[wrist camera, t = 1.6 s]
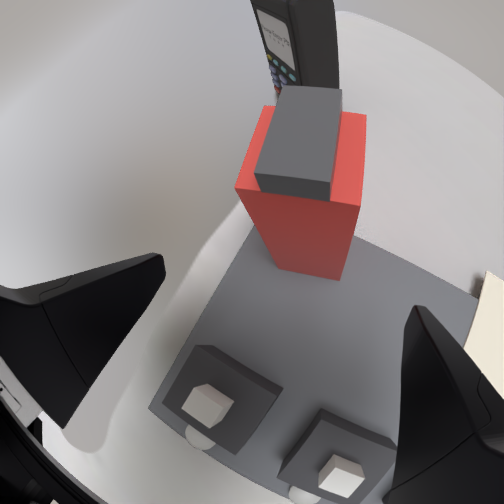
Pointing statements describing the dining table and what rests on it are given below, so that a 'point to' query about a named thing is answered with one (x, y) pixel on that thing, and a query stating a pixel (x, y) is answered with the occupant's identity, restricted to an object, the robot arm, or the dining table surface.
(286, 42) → the card reader
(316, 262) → the block
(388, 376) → the breaker panel
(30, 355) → the robot arm
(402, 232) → the dining table surface
